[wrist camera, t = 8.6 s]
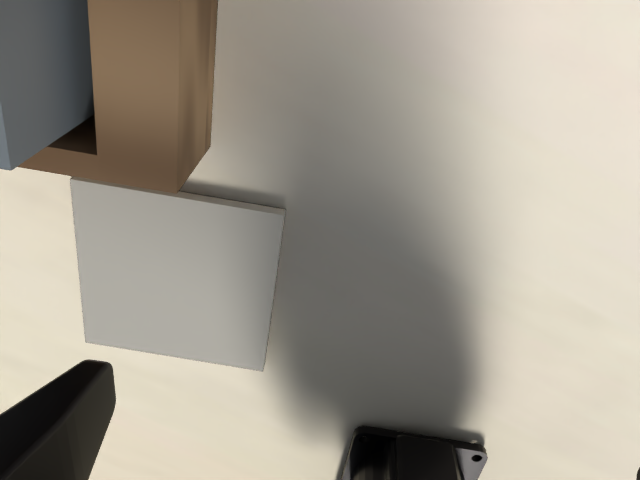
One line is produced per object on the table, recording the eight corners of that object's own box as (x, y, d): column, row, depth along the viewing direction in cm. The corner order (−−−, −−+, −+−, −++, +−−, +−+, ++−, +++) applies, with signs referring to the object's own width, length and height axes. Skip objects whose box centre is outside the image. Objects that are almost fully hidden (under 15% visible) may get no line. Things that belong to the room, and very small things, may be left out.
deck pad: (264, 363, 24) (263, 371, 24) (90, 335, 24) (85, 342, 24) (286, 209, 20) (284, 215, 20) (76, 173, 20) (70, 179, 20)
